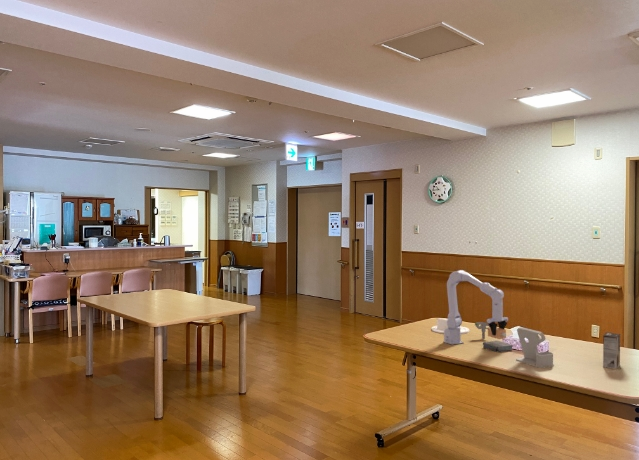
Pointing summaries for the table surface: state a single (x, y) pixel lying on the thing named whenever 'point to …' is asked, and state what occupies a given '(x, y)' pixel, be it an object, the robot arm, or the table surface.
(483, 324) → the mechanical component
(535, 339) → the phone holder
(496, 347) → the dark grey flat block
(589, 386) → the table surface
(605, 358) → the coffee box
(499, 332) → the housing
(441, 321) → the dish
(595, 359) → the table surface
